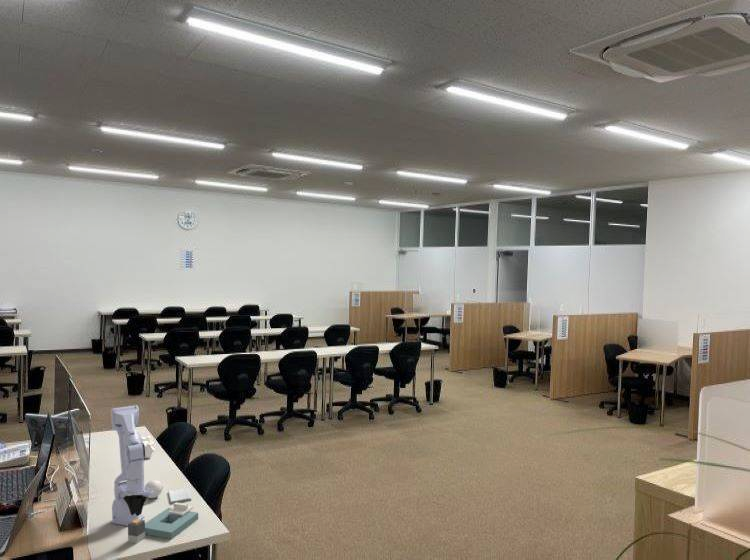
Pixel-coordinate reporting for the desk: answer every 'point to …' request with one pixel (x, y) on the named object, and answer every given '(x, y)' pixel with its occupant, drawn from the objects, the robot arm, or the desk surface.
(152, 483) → the white rounded ovoid
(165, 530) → the socket board
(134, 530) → the plug
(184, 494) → the hard drive
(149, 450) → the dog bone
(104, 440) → the desk surface
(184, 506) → the plate
